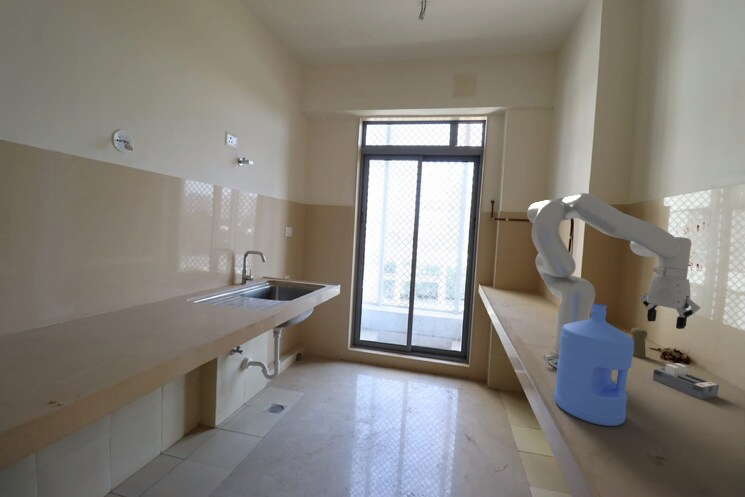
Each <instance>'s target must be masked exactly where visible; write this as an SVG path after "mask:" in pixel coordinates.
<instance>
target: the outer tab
mask: <svg viewBox="0 0 745 497" xmlns="http://www.w3.org/2000/svg"><path fill="white" fill-rule="evenodd" d="M673 365H674V366H677V367H679V369H678V374H681V375H683V376H686V374H687V371H688V366H687V365H684V364H682V363H680V362H679V363H678V362H677V363H673Z"/></svg>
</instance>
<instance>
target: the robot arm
mask: <svg viewBox="0 0 745 497" xmlns="http://www.w3.org/2000/svg"><path fill="white" fill-rule="evenodd" d="M526 215H527V216H526V217H527V219H528V220H529V223H532V228H531V239H532V242H533V245H534V247H535V248H536V251H537V255H536V256H535V262H534V263H535V266H536V267H535V268H536V270H537V271H538V273H539V275H540V277H541V278H542V280H543V282H544V284H545V285H546V287H547V288H548V290H549V292H550V293H551V294H552V295H553V296H555V297H556V298H557V299H560V300H561V302H560V304H559V306H558V309H557V313H556V314H557V315H556V322H555V332H554V341H553V350H551V354H545V355H543V356H542V358H543V360H544V362H547V363H548V364H549V365H551V367H554V368H556V369H557V364H558V360H559V351H560V342H561V341H560V336H561V331H562V326H563V325H565V324H568V323H573V322H578V321H583V320H588V319H590V318H591V310H592V307H593V306H592V304H594V302H595V300H596V299H595V297H596V289H595V287H594V285H593V284H592V282H590V281H588V280H587V279H585V278H583V277H578V276H575V275H573V274H574V273H575V271H576V261H575V259H574V257H573V256H572V254H571V252H570V251H569V249H568V247H567V246H566V244H565V243H564V241H563V239H562V236H561V234H560V227H561V226H560V225H561V222H562V221H567V220H573V219H579V220H581V221H582V222H584V223H586V224H587V225H589V226H591V227H592V228H594V229H596V230H597V231H599V232H601V233H602V234H604V235H607V236H610V237H613V238H618V239H622V240H626V241H629V242H630V243H629V247H630V251H632V252H633V253H634V254H635V255H638V256H640V257H646V258H658V260H657V267H654V268H653V270H652V271H653V273H655V274H656V275H653V276H652V278H651V281H650V284H649V287H648V290H647V293H644V294H642V295H640V297H639V298H640V300H641V301H642V303H643V305H644V306H645V308H646V310H647V317H646V318H647V322H656V320H657V312H658V310H657V308H658V306H660V307H665V308H670V309H674V310H676V312H677V314H678V315H679V316H677V318H676V324H675V328H676V329H678V330H684V329H685V327H686V326H687V319H688V318H689V317H690V316H693V315H695V313H696V312H698V311H700V309H701V307H700V306H699V305H698V304H697V303H696V302H694V301H693V300H692V299H691V284H690V279H689V278H688V272H689V270H688V269H689V264H690V257H691V250H692V249H691V248H692V241H691V239H690V238H688V237H684V236H683V237H681V236H674V235H673V234H671V233H669V232H668V231H666V230H664V229H663V228H661V227H659V226H657V225H655V224H653V223H650V222H648V221H646V220H642V219H640V218H637V217H635V216H632V215H629V214H626V213H624V212H622V211H620V210H619V209H616V208H615V207H613V206H611V205H610V204H609V203H606V202H605V201H602V199H600V198H598V197H596V196H594V195H593V194H590V193H588V192H587V193H586V192H584V193H583V192H581V193H577V194H572V195H568V196H563V197H559V198H556V199H555V198H554V199H553V198H552V199H545V200H542V201H537V202H534V203H532V204H531V205H530V206H529V207H528V209H527V212H526ZM689 308H690V309H689ZM687 309H688V310H687Z"/></svg>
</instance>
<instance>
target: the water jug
mask: <svg viewBox="0 0 745 497" xmlns="http://www.w3.org/2000/svg"><path fill="white" fill-rule="evenodd" d="M607 308H608V306H607V305H606V304H601V303H593V304H592V308H591V312H590V317H589V319H588V320H583V321H578V322H573V323H568V324H565V325H563V326H562V331H561V336H560V341H561V342H560V351H559V360H558V364H557V368H556V371H557V372H556V379H555V389H554V393H553V399H554V401H555V403H556V405H558V406H559V408H560V409H562V410H563V411H564V412H566V413H567V414H569V415H570V416H572V417H575V418H577V419H580V420H581V421H584V422H587V423H591V424H594V425H599V426H604V427H605V426H606V427H615V426H620V425H622V424H623V423H625V421H626V416H627V401H628V393H627V392H628V391H626V389H627V388H626V386H627V378H628V371H629V370H630V369H631V368H632V363H633V362H632V361H633V353H634V340H633V339H632V338H631V337H632V336H630V335H629V334H626V333H625V332H623V331H621V330H620V329H618V328H617V327H615V326H613V325H612V324H610V323H608V322H607V321H606V316H607ZM613 371H617V379H616V382H614V380H613V379H612V374H613Z"/></svg>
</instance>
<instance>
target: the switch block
mask: <svg viewBox="0 0 745 497" xmlns="http://www.w3.org/2000/svg"><path fill="white" fill-rule="evenodd" d="M652 380H654V381H655V382H657V383H660V384H662V385H666V386H668V387H670V388H673V389H675V390H678V391H680V392H682V393H685V394H686V395H687V394H688V395H689V396H692V397H695V398H697V399H700V400H704V399H711V398H716V397H718V393H719V386H720V385H719V384H717V383H715V382H712V381H708V380H706V379H703V378H699V377H697V376H694V375H691V374H689V373H686V376H683V375H681V374H678V376H677V377H674V376H672V375H669V374H666V373H665V367H664V368H662V367H661V368H655V369H653V376H652Z"/></svg>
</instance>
